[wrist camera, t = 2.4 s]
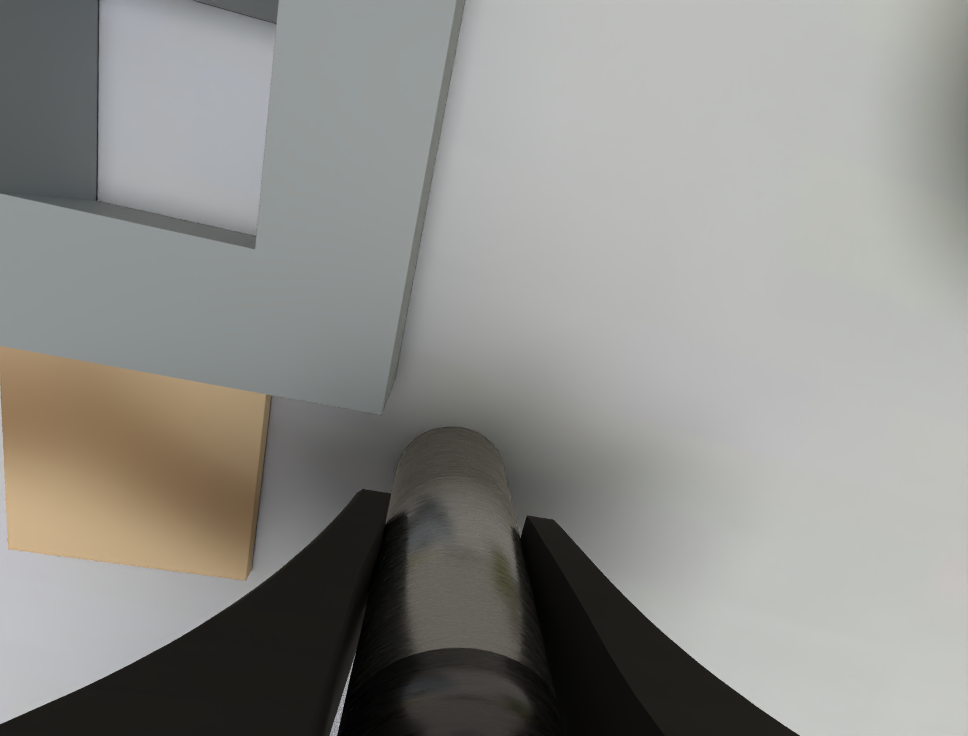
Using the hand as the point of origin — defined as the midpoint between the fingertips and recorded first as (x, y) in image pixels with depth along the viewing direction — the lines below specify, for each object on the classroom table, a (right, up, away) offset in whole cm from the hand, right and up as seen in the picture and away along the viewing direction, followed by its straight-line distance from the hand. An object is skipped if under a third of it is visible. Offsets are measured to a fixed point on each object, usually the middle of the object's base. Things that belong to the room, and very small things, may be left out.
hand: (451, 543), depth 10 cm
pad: (-8, +1, +2) cm, 9 cm away
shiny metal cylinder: (0, +1, +3) cm, 3 cm away
